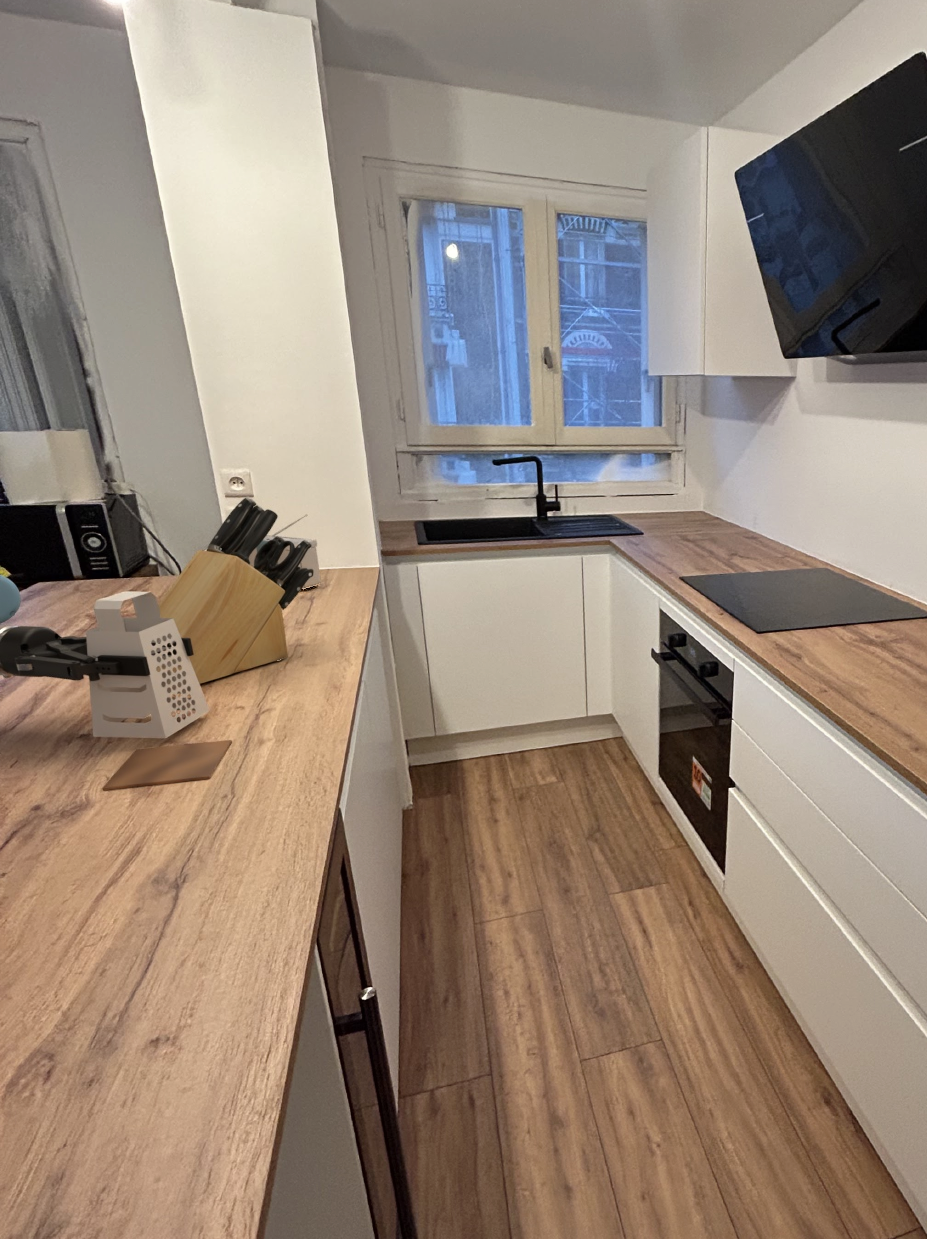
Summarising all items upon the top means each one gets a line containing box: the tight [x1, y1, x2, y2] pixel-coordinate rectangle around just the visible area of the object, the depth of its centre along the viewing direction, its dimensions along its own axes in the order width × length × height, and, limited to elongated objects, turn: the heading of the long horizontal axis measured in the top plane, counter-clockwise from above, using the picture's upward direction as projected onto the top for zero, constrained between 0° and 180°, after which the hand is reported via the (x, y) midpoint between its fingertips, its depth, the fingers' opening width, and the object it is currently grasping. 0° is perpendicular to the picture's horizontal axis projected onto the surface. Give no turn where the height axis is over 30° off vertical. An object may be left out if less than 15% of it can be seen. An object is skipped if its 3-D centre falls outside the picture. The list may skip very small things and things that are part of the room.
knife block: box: [156, 496, 314, 685], centre depth 134 cm, size 11×35×31 cm, turn 155°
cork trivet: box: [102, 739, 233, 791], centre depth 101 cm, size 12×12×1 cm
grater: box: [85, 590, 211, 739], centre depth 108 cm, size 10×10×20 cm
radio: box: [249, 513, 322, 588], centre depth 199 cm, size 21×8×20 cm, turn 72°
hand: (169, 656), depth 107 cm, fingers closed on grater, 8 cm apart
